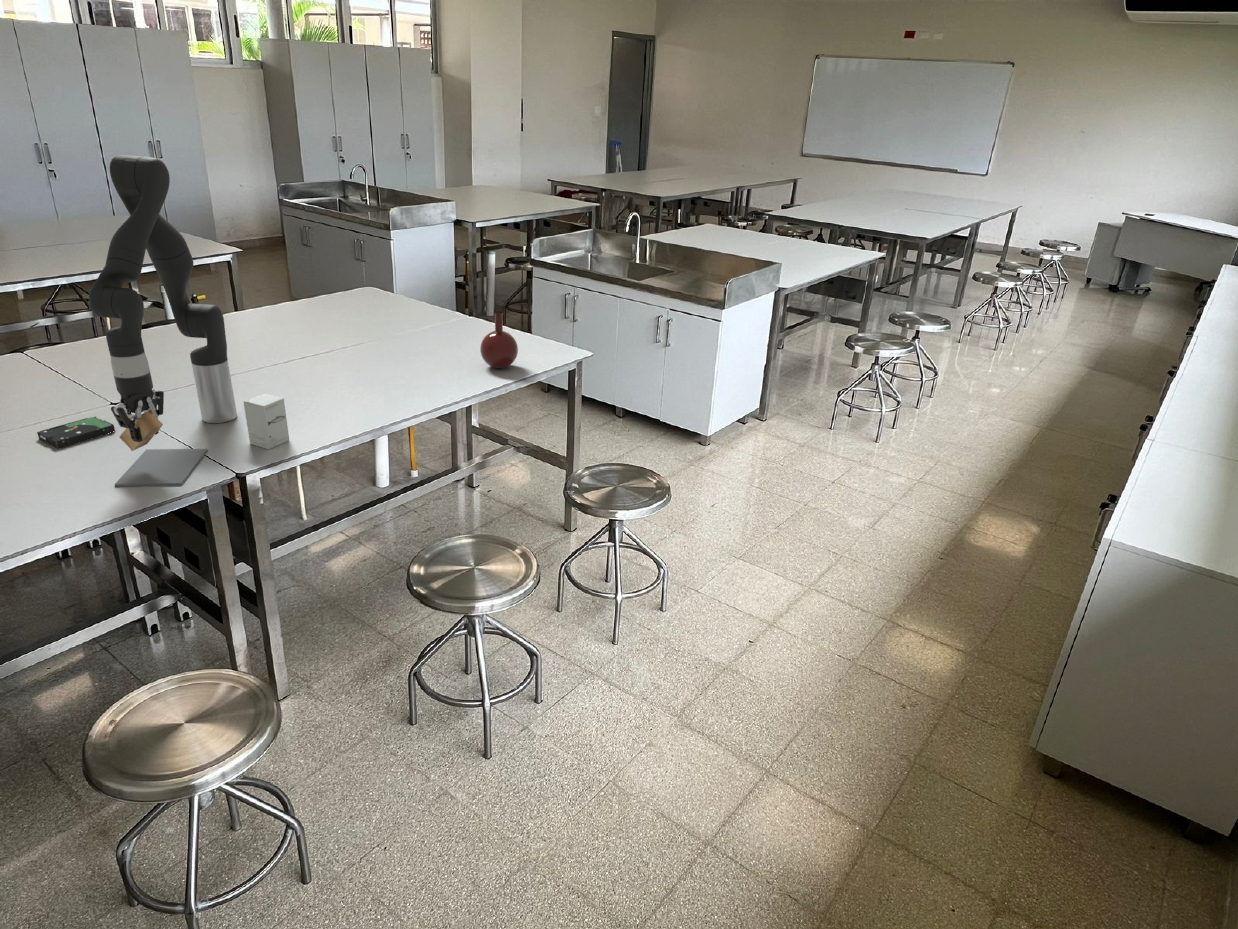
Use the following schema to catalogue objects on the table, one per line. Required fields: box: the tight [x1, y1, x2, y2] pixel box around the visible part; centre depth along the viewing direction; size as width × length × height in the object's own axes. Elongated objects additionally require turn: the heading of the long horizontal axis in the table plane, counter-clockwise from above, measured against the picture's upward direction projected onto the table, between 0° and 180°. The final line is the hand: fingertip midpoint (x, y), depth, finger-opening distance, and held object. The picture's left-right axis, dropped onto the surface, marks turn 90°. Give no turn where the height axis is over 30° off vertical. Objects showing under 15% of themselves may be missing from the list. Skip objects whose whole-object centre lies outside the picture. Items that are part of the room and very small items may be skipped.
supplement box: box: [243, 393, 290, 450], centre depth 214 cm, size 7×7×13 cm
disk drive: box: [36, 416, 116, 450], centre depth 214 cm, size 10×3×15 cm
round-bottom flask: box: [479, 310, 519, 369], centre depth 278 cm, size 13×13×20 cm
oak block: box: [118, 411, 164, 452], centre depth 194 cm, size 4×4×9 cm
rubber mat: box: [113, 448, 209, 487], centre depth 200 cm, size 20×15×1 cm
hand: (146, 437), depth 194 cm, fingers closed on oak block, 4 cm apart
